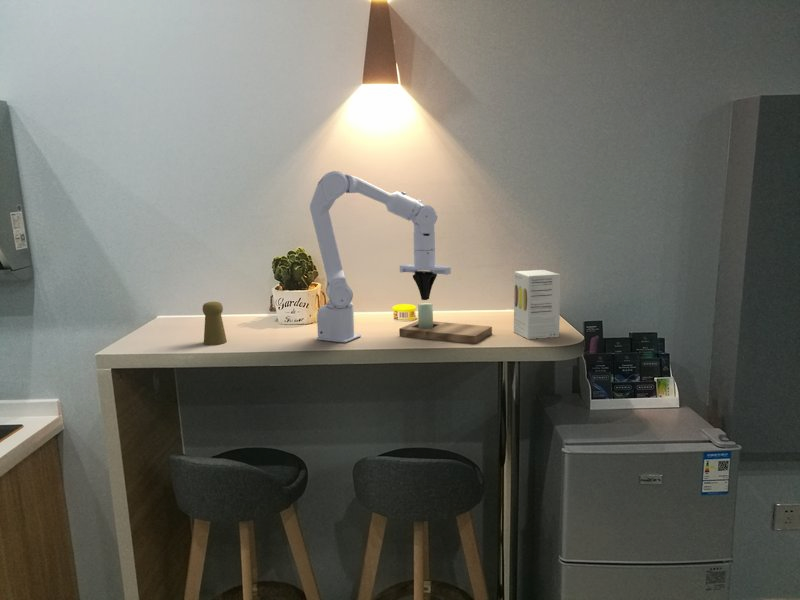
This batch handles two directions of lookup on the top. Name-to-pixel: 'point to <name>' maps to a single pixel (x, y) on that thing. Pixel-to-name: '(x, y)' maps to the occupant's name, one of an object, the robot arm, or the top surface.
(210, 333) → the cork
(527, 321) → the supplement box
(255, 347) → the top surface
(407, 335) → the walnut board
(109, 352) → the top surface
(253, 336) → the top surface
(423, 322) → the peg
